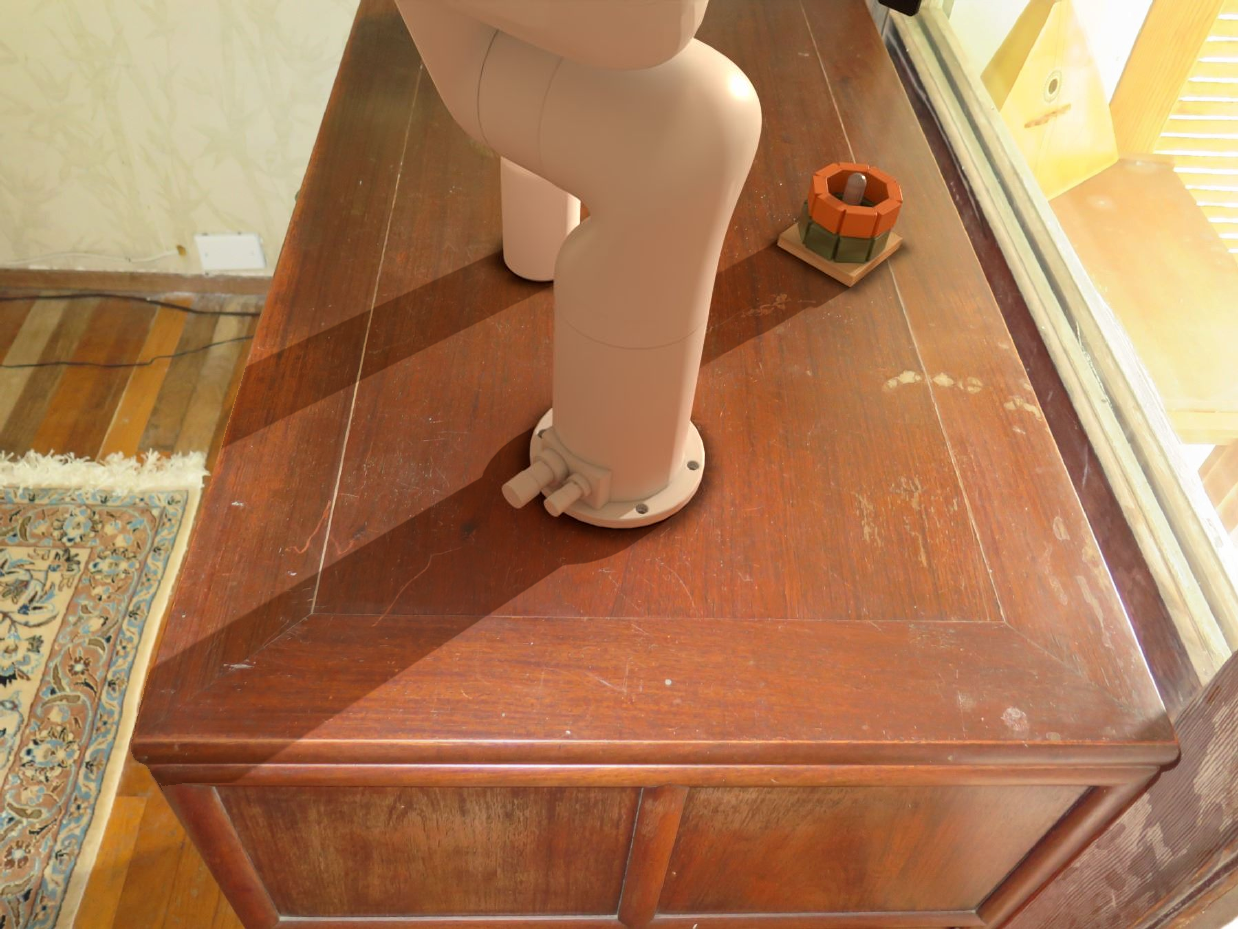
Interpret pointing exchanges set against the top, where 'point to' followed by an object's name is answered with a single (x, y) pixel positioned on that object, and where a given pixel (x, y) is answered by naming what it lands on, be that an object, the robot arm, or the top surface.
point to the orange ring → (854, 217)
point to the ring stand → (839, 241)
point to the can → (534, 221)
